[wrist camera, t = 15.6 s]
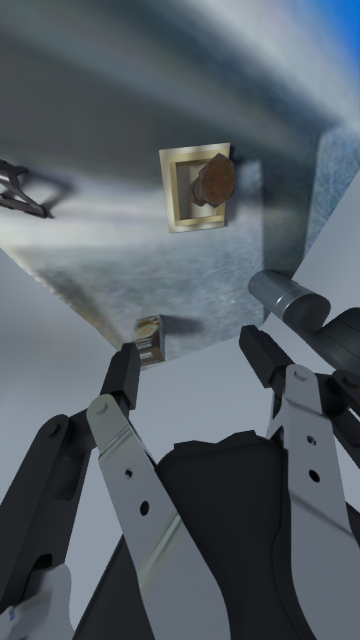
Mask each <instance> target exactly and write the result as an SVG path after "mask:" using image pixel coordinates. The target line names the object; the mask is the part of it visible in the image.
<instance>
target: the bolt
mask: <svg viewBox="0 0 360 640" xmlns="http://www.w3.org/2000/svg"><path fill="white" fill-rule="evenodd" d="M235 181H236V166H235V164H234V163H233V162H232V161H231V160H230V159H228V158H227V157H226V156H224V155H223V154H221V153H218V154H216V155H215V156H214V157H213V158H212V159H211V160H210V161H209V162H208V163H207V164H206V165H205V166H204V167H203V168H202V169H201V170H200V171H199V176H198V177H197V178H196V179H195V180H194V181H193V182H192V183H191V184H190V201H192V202H193V203H195V204H196V205H198V206H200V207H202V206H204V205H205V204H206V203H208V204H209V205H211V206H212V207H214V208H216V207H218V206H219V205H221V204H222V203H223V202H224V201H226V200H227V199H228V198H229V197H230V196H231V195H232V194H233V193H234V188H235Z"/></svg>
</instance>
